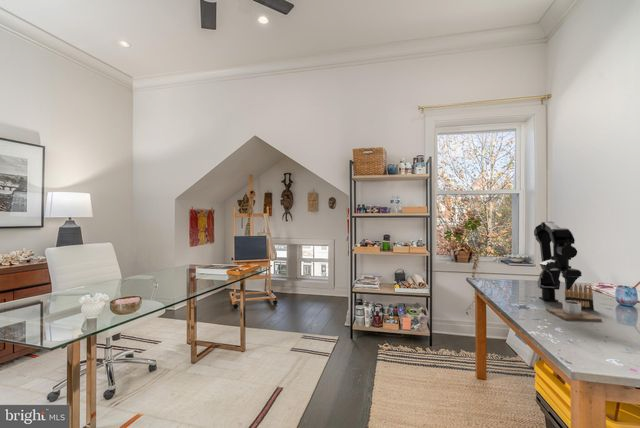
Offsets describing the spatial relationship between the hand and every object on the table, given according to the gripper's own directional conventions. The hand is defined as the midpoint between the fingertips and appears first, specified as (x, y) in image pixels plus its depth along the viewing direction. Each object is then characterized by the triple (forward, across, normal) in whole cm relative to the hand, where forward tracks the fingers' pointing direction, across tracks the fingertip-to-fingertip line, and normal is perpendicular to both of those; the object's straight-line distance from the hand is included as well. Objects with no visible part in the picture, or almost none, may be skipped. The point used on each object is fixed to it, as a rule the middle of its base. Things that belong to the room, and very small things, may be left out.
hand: (561, 287), depth 140 cm
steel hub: (+10, +7, 0) cm, 12 cm away
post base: (+11, +7, 0) cm, 13 cm away
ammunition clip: (+12, -5, +10) cm, 17 cm away
